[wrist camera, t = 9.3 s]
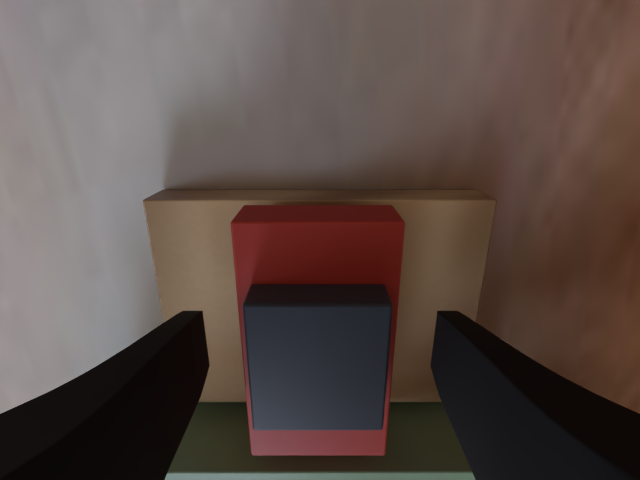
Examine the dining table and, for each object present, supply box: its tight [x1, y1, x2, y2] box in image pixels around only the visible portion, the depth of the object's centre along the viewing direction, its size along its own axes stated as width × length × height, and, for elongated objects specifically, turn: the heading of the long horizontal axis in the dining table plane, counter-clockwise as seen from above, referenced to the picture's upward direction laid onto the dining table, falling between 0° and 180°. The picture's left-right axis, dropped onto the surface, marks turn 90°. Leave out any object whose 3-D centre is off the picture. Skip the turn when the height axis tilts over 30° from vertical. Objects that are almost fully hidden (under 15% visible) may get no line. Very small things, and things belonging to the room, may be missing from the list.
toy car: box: [230, 205, 405, 456], centre depth 11 cm, size 4×8×3 cm, turn 0°
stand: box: [143, 190, 497, 402], centre depth 13 cm, size 11×8×2 cm
